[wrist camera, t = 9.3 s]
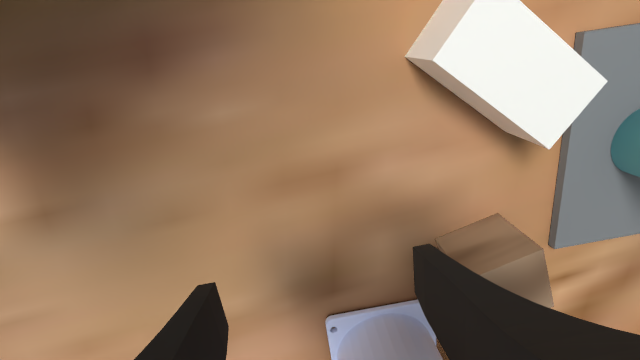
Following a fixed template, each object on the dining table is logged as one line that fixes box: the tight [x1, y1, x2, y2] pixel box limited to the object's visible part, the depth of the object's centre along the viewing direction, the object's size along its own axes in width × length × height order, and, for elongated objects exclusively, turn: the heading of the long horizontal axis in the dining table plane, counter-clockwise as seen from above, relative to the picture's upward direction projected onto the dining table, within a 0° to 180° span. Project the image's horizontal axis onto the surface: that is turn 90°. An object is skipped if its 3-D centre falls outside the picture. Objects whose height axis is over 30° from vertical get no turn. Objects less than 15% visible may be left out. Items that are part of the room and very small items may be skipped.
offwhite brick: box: [405, 0, 608, 149], centre depth 18 cm, size 8×4×4 cm, turn 57°
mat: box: [548, 23, 640, 249], centre depth 22 cm, size 14×10×1 cm
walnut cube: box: [435, 213, 554, 308], centre depth 23 cm, size 4×4×4 cm
